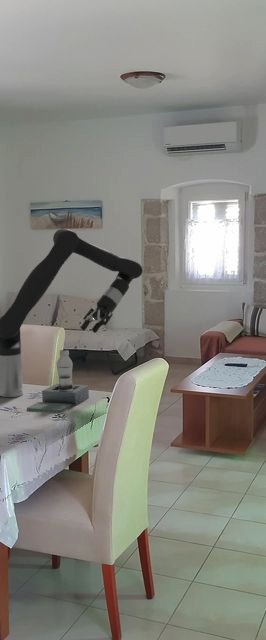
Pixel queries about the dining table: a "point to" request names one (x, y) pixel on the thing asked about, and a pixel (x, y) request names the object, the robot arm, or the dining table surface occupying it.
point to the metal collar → (65, 395)
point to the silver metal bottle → (64, 371)
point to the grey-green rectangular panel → (49, 407)
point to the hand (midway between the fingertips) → (87, 330)
